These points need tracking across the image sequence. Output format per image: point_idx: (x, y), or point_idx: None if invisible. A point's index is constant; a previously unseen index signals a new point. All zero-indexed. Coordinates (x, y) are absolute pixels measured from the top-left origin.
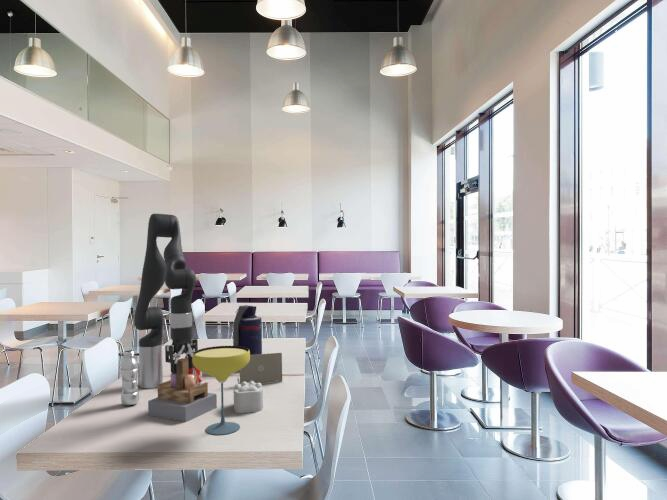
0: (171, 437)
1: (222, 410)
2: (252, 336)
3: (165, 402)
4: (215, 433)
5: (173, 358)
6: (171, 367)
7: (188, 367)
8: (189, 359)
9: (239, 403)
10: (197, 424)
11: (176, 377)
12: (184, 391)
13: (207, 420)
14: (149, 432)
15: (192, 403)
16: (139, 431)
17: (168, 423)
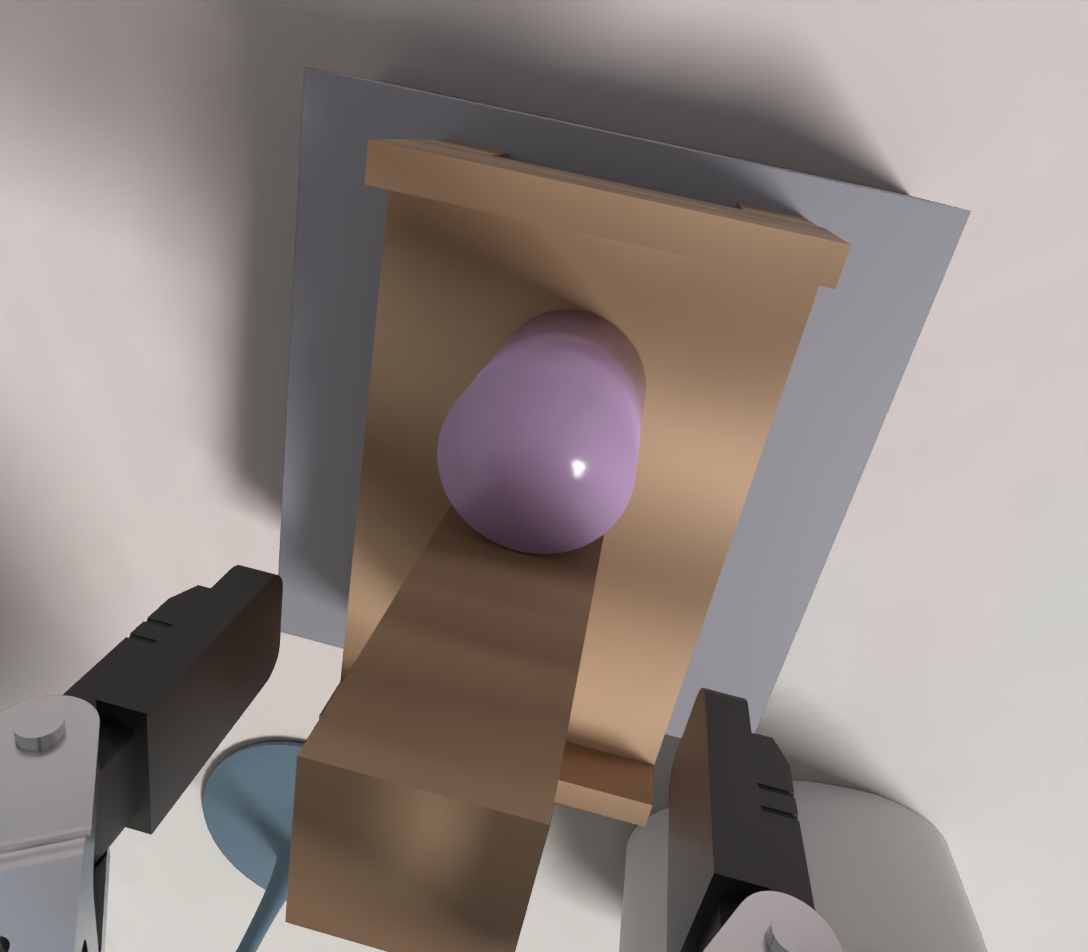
0: (60, 590)
1: (240, 949)
2: None
3: (328, 353)
4: (209, 821)
5: (73, 834)
6: (115, 669)
7: (696, 721)
8: (688, 912)
9: (621, 920)
10: (323, 657)
11: (443, 520)
12: (380, 614)
13: None
14: (48, 387)
15: None
16: (23, 289)
17: (260, 433)
